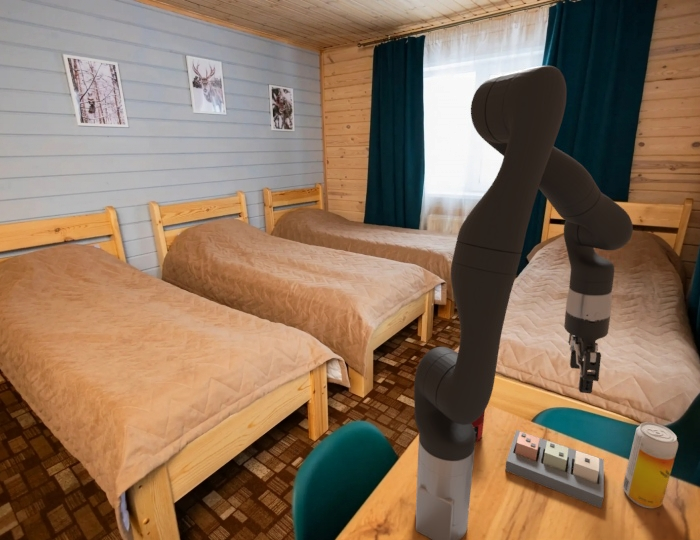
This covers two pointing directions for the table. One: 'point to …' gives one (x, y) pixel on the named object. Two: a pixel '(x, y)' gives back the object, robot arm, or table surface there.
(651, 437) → the beer can
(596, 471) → the tile one cream
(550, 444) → the tile two sage
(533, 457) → the tile three terracotta
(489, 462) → the table surface
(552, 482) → the slate board
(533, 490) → the table surface
